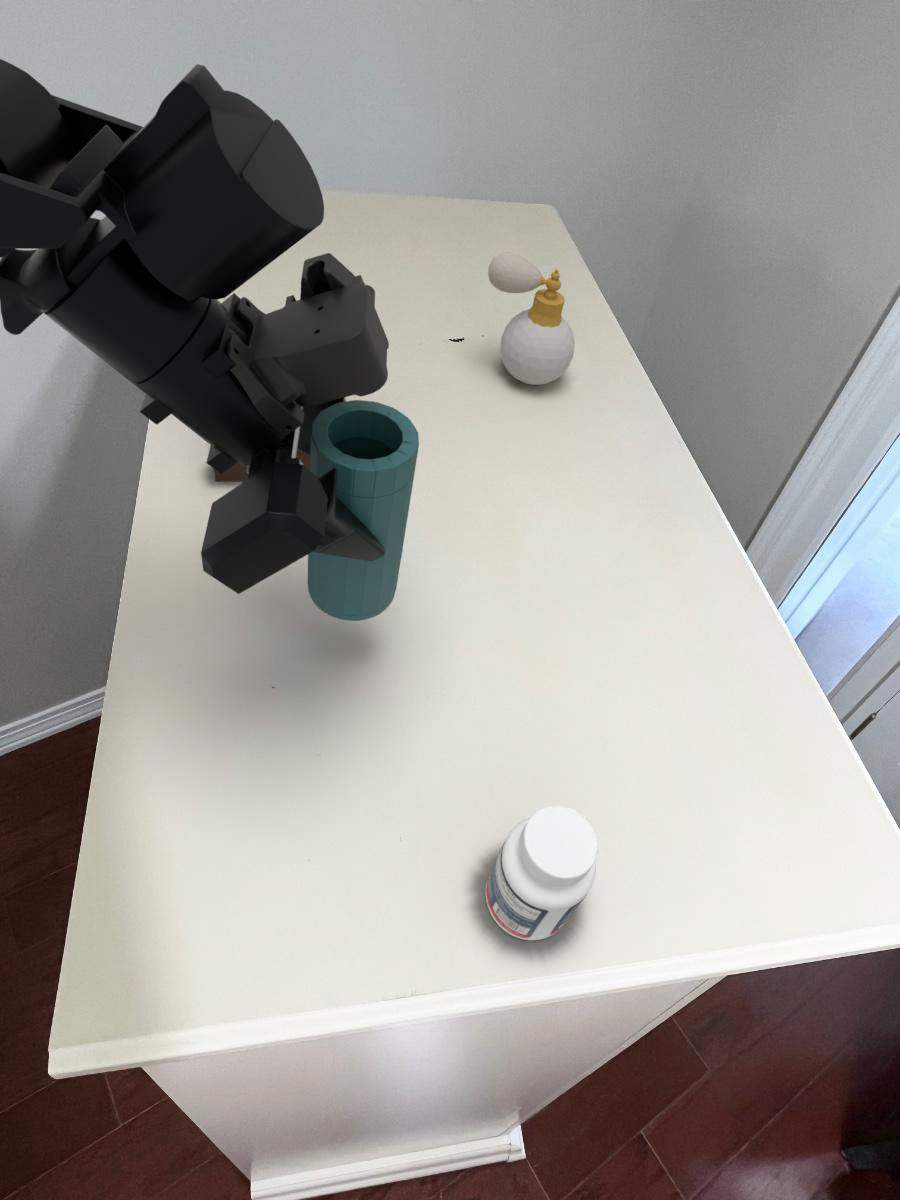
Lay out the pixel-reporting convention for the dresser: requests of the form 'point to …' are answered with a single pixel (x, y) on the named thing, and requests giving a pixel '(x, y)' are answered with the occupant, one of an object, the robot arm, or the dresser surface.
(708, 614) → the dresser surface
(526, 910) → the pill bottle
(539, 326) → the perfume bottle
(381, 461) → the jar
